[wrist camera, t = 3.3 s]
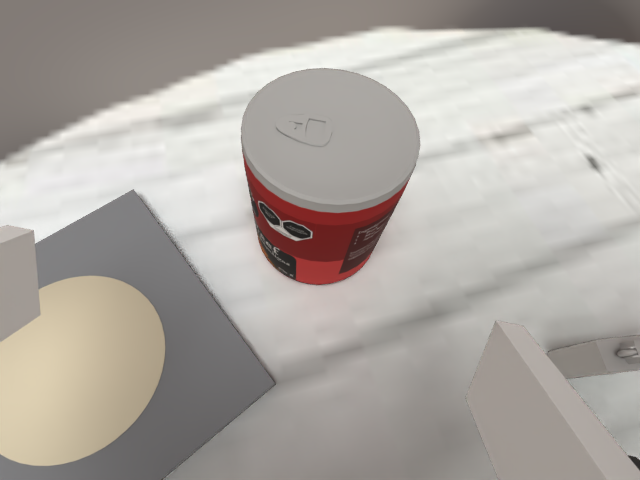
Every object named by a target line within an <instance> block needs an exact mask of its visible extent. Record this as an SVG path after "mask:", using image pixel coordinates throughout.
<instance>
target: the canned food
mask: <svg viewBox="0 0 640 480" xmlns="http://www.w3.org/2000/svg"><path fill="white" fill-rule="evenodd" d="M241 143H242V152H243V158H244V166H245V171H246V176H247V182H248V187H249V192H250V197H251V203H252V208H253V213H254V218H255V224H256V229H257V234H258V240H259V243H260V246H261V249H262V251H263V253H264V255H265V256H266V258H267V259H268V261H269V262H270V263H271V264H272V265H273V266H274V267H275V268H276V269H277V270H279V271H280V272H281V273H283V274H284V275H286V276H287V277H290V278H292V279H294V280H296V281H299V282H303V283H307V284H317V285H321V284H330V283H334V282H337V281H340V280H343V279H345V278H347V277H349V276H351V275H353V274H354V273H356V272H357V271H358V270H359V269H360V268H362V267H363V265H364V264H365V263H366V261H367V260H368V259H369V257H370V255H371V253H372V251H373V249H374V247H375V246H376V244H377V242H378V240H379V238H380V236H381V234H382V232H383V230H384V228H385V226H386V225H387V223H388V221H389V219H390V217H391V215H392V213H393V211H394V209H395V207H396V205H397V203H398V202H399V200H400V198H401V196H402V194H403V192H404V190H405V188H406V185H407V183H408V181H409V179H410V177H411V175H412V173H413V170H414V168H415V166H416V161H417V159H418V155H419V149H420V136H419V130H418V127H417V124H416V121H415V118H414V117H413V115H412V113H411V112H410V110H409V108H408V107H407V106H406V104H405V103H404V102H403V101H402V100H401V99H400V98H399V97H398V96H397V95H396V94H395V93H393V92H392V91H391V90H390V89H388V88H387V87H386V86H384V85H382V84H380V83H378V82H377V81H375V80H373V79H371V78H368V77H366V76H363V75H360V74H358V73H354V72H349V71H345V70H339V69H329V68H319V69H307V70H301V71H296V72H292V73H290V74H287V75H284V76H281V77H279V78H277V79H275V80H274V81H272V82H270V83H268V84H267V85H266V86H264V87H263V88H262V89H261V90H260V91H258V92H257V93H256V95H255V96H254V97H253V98H252V100H251V101H250V102H249V104H248V106H247V108H246V110H245V113H244V115H243V120H242V126H241Z"/></svg>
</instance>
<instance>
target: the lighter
mask: <svg viewBox="0 0 640 480" xmlns="http://www.w3.org/2000/svg"><path fill="white" fill-rule="evenodd" d="M547 355H548V357H549V359H550V360H551V361H552V362H553V364H554V365H555V366H556V367H557V369H558V370H559V371H560V372H561V374H562V375H563V376H564V377H565V379H570V378H578V377H587V376H596V375H604V374H613V373H621V372H629V371H637V370H640V335H634V336H625V337H615V338H605V339H597V340H593V341H589V342H585V343H580V344H576V345H572V346H568V347H564V348H560V349H556V350H552V351H548V353H547Z"/></svg>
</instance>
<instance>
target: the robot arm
mask: <svg viewBox="0 0 640 480" xmlns="http://www.w3.org/2000/svg"><path fill="white" fill-rule="evenodd" d="M40 315H41V313H40V301H39V289H38V276H37V264H36V251H35V239H34V230H30V229H24V228H19V227H14V226H9V225H6V226H3V227H0V342H2V341H3V340H5V339H6V338H7V337H9V336H10V335H12V334H13V333H15V332H16V331H18V330H19V329H21V328H22V327H24V326H25V325H27V324H28V323H30V322H31V321H33V320H34V319H36V318H37V317H38V316H40ZM466 401H467V403H468V406H469V408H470V411H471V413H472V416H473V418H474V421H475V423H476V426H477V428H478V430H479V433H480V435H481V438H482V440H483V443H484V445H485V448H486V450H487V453H488V455H489V458H490V460H491V462H492V465H493V467H494V470H495V472H496V475H497V477H498V480H640V460H639V459H638V458H636V457H633V456H628V455H627V454H626V453H625V452H624V451H623V449H622V448H621V447H620V446H619V444H618V443H617V442H616V441H615V439H614V438H613V437H612V436H611V434H610V433H609V432H608V431H607V429H606V428H605V427H604V426H603V424H602V423H601V422H600V421H599V420H598V418H597V417H596V416H595V415H594V413H593V412H592V411H591V410H590V408H589V407H588V406H587V405H586V403H585V402H584V401H583V400H582V398H581V397H580V396H579V395H578V393H577V392H576V391H575V390H574V388H573V387H572V386H571V385H570V383H569V382H568V381H567V380H566V379H565V377H564V376H563V375H562V374H561V372H560V371H559V370H558V369H557V367H556V366H555V365H554V364H553V362H552V361H551V360H550V359H549V357H548V356H547V355H546V354H545V352H544V351H543V350H542V349H541V347H540V346H539V345H538V344H537V342H536V341H535V340H534V339H533V338H532V336H531V335H530V334H529V333H528V331H527V330H526V329H525V328H524V326H522V325H517V324H512V323H507V322H502V321H495V324H494V326H493V329H492V332H491V334H490V337H489V339H488V342H487V344H486V347H485V349H484V352H483V355H482V357H481V360H480V362H479V365H478V367H477V370H476V372H475V375H474V377H473V380H472V383H471V385H470V388H469V390H468V393H467V395H466Z"/></svg>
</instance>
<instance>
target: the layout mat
mask: <svg viewBox="0 0 640 480" xmlns="http://www.w3.org/2000/svg"><path fill="white" fill-rule="evenodd" d="M35 251H36V264H37V276H38V289H39V301H40V313H41V315H40V316H38V317H37V318H36V319H34V320H33V321H31V322H30V323H28V324H27V325H25V326H24V327H22V328H21V329H19V330H18V331H16V332H15V333H13V334H12V335H10V336H9V337H7V338H6V339H5V340H3V341H2V342H0V480H162V479H164V478H165V477H166V476H167V475H168V474H170V473H171V472H172V471H173V470H174V469H175V468H177V467H178V466H179V465H180V464H181V463H183V462H184V461H185V460H186V459H187V458H189V457H190V456H191V455H192V454H193V453H195V452H196V451H197V450H198V449H199V448H200V447H202V446H203V445H204V444H205V443H206V442H208V441H209V440H210V439H211V438H212V437H214V436H215V435H216V434H217V433H218V432H220V431H221V430H222V429H223V428H224V427H226V426H227V425H228V424H229V423H230V422H231V421H233V420H234V419H235V418H236V417H237V416H239V415H240V414H241V413H242V412H243V411H245V410H246V409H247V408H248V407H249V406H251V405H252V404H253V403H254V402H255V401H257V400H258V399H259V398H260V397H261V396H262V395H264V394H265V393H266V392H267V391H268V390H270V389H271V388H272V387H273V386H274V385H276V384H275V383H274V381H273V380H272V379H271V377H270V376H269V374H268V373H267V372H266V370H265V369H264V368H263V366H262V365H261V363H260V362H259V361H258V359H257V358H256V357H255V355H254V354H253V352H252V351H251V350H250V348H249V347H248V346H247V344H246V343H245V342H244V340H243V339H242V337H241V336H240V335H239V333H238V332H237V331H236V329H235V328H234V326H233V325H232V324H231V322H230V321H229V320H228V318H227V317H226V315H225V314H224V313H223V311H222V310H221V309H220V307H219V306H218V305H217V303H216V302H215V300H214V299H213V298H212V296H211V295H210V294H209V292H208V291H207V289H206V288H205V287H204V285H203V284H202V283H201V281H200V280H199V278H198V277H197V276H196V274H195V273H194V272H193V270H192V269H191V267H190V266H189V265H188V263H187V262H186V261H185V259H184V258H183V257H182V255H181V254H180V252H179V251H178V250H177V248H176V247H175V246H174V244H173V243H172V241H171V240H170V239H169V237H168V236H167V235H166V233H165V232H164V230H163V229H162V228H161V226H160V225H159V224H158V222H157V221H156V220H155V218H154V217H153V215H152V214H151V213H150V211H149V210H148V209H147V207H146V206H145V204H144V203H143V202H142V200H141V199H140V198H139V196H138V195H137V193H136V192H135V191H134V189H133V190H131V191H130V192H128V193H126V194H124V195H122V196H121V197H119V198H117V199H115V200H113V201H112V202H110V203H108V204H106V205H104V206H103V207H101V208H99V209H97V210H95V211H94V212H92V213H90V214H88V215H86V216H85V217H83V218H81V219H79V220H77V221H76V222H74V223H72V224H70V225H68V226H67V227H65V228H63V229H61V230H59V231H58V232H56V233H54V234H52V235H50V236H49V237H47V238H45V239H43V240H41V241H40V242H38V243H36V244H35Z"/></svg>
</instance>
